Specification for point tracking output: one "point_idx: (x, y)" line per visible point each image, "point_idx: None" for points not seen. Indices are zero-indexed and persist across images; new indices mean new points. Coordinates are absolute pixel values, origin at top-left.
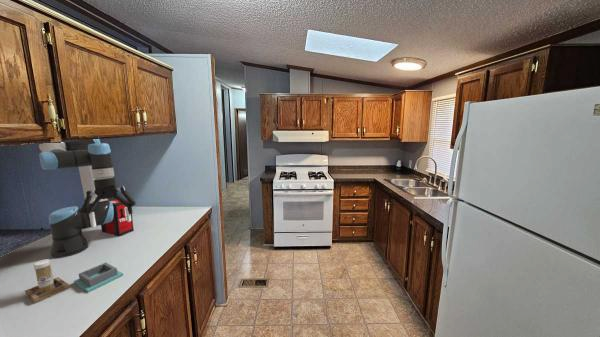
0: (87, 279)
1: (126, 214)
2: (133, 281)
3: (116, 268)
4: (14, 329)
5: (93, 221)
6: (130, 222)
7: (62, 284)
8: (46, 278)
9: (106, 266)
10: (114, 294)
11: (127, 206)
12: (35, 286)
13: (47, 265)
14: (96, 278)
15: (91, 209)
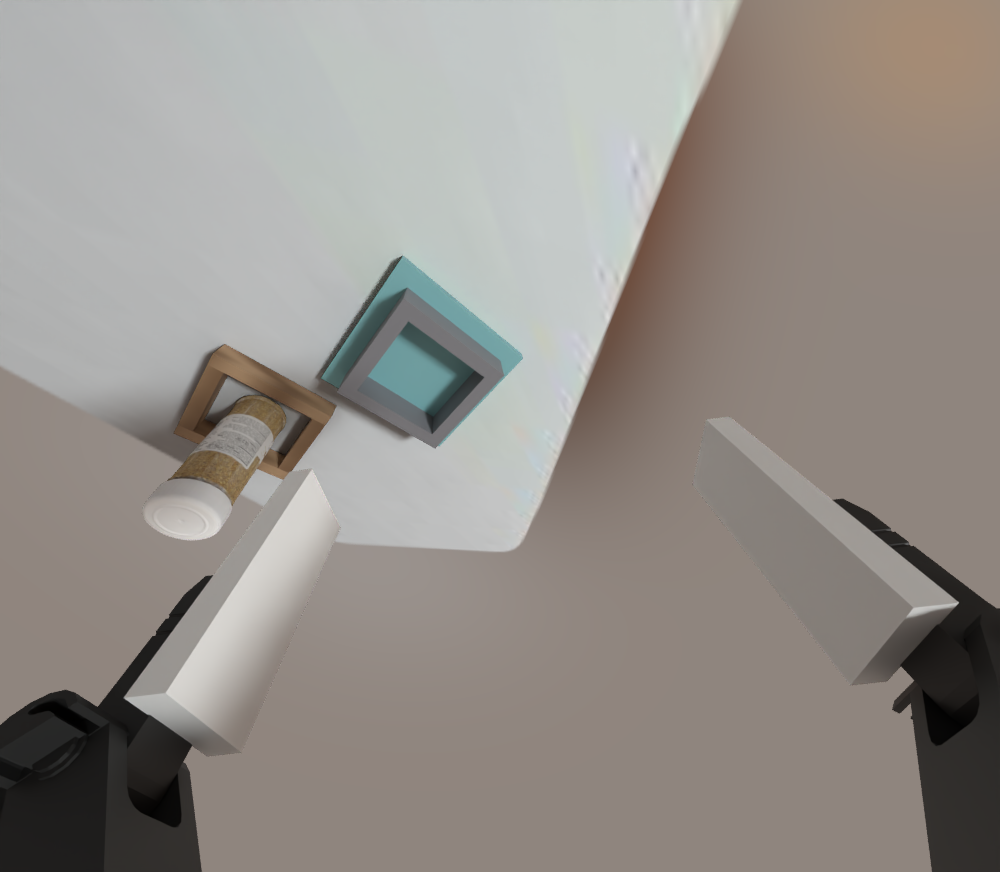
0: (419, 439)
1: (760, 569)
2: (576, 402)
3: (502, 376)
4: (349, 539)
5: (303, 574)
6: None
7: (305, 414)
8: (255, 470)
9: (434, 338)
10: (535, 459)
11: (934, 720)
12: (185, 413)
13: (229, 508)
14: (450, 430)
15: (199, 869)
